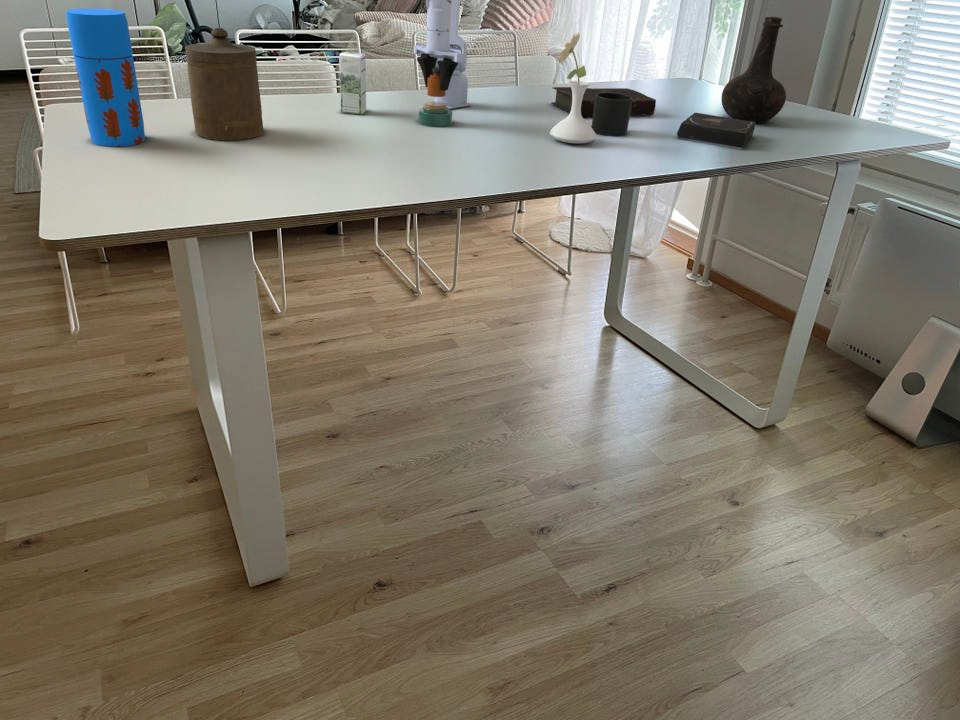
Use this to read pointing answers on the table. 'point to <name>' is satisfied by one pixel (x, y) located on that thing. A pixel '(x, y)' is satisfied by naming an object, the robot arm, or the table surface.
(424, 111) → the green round container
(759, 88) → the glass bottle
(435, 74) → the amber bottle
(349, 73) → the syrup box
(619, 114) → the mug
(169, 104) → the table surface
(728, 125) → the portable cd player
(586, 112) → the diary
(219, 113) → the wooden container
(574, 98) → the flower in vase
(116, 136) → the thermos
